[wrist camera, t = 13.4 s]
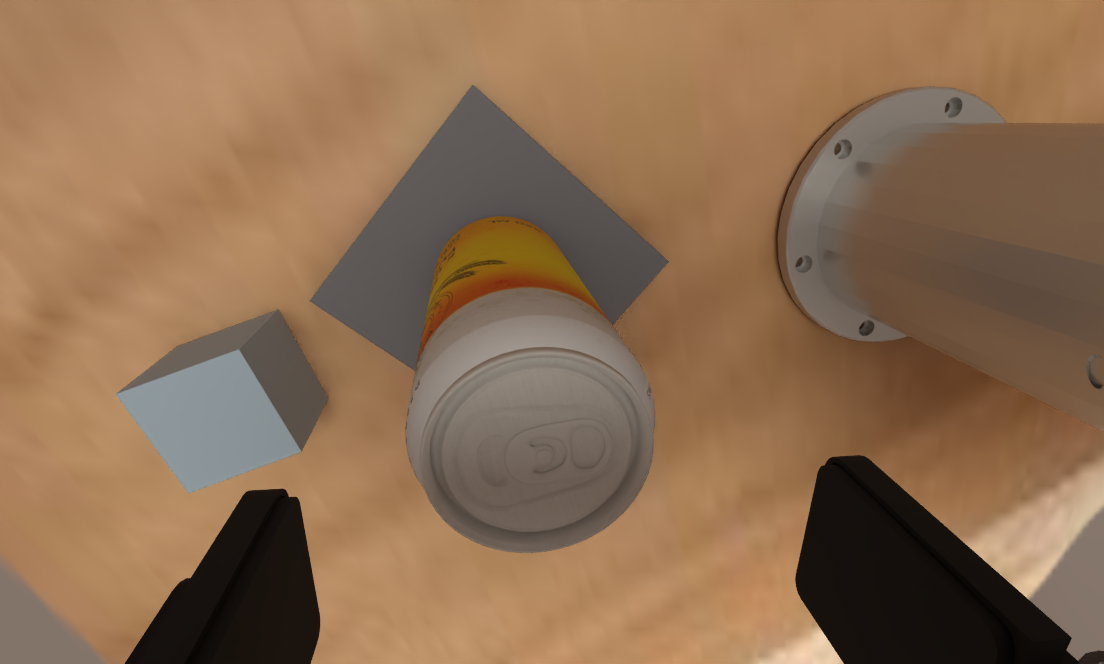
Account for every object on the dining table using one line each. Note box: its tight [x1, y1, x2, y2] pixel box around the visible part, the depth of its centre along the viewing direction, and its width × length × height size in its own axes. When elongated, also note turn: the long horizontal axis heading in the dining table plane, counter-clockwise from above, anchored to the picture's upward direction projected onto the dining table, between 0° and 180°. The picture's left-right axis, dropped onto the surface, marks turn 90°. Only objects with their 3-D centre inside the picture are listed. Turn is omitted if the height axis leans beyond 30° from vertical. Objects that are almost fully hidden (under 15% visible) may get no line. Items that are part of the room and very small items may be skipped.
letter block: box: [116, 309, 328, 493], centre depth 25 cm, size 5×5×5 cm
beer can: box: [406, 216, 655, 553], centre depth 19 cm, size 6×6×15 cm
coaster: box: [310, 85, 669, 371], centre depth 27 cm, size 12×12×1 cm
